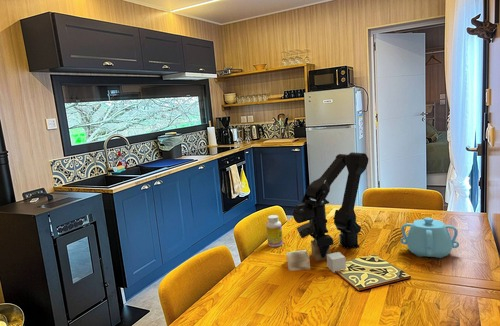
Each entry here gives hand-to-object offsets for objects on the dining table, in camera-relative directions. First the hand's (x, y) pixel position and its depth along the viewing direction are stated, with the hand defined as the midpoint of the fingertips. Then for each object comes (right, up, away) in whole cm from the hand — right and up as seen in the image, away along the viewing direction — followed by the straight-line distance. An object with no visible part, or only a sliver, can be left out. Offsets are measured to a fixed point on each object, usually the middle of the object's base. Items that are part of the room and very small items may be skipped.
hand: (320, 254), depth 145 cm
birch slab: (-9, -3, -5) cm, 11 cm away
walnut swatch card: (-8, -1, +4) cm, 9 cm away
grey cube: (+4, -3, -11) cm, 11 cm away
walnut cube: (0, -1, 0) cm, 1 cm away
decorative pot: (+40, +2, -5) cm, 41 cm away
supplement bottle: (-17, 0, +17) cm, 24 cm away
